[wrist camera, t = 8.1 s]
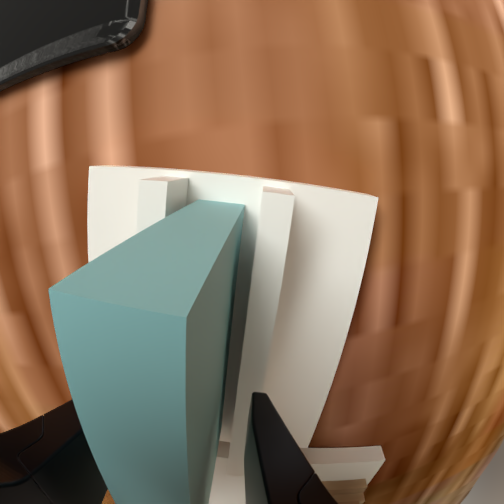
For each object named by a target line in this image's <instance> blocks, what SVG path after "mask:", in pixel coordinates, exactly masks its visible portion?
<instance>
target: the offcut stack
mask: <svg viewBox="0 0 504 504" xmlns="http://www.w3.org/2000/svg"><path fill="white" fill-rule="evenodd" d="M322 483H323V484H324V486H325V487H326V488H327V490H328V491H329V493H330V494H331V495H332V497H333V498H334V499H335V500H336V501H337V502H338V503H339V504H363V503H364V502H365V498H364V494H363V492H364V491H365V490H366V488H367V483H366V479H355V480H340V481H322Z"/></svg>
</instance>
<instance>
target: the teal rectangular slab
mask: <svg viewBox="0 0 504 504" xmlns="http://www.w3.org/2000/svg"><path fill="white" fill-rule="evenodd" d="M244 209H245V205H244V204H236V203H227V202H218V201H209V200H200V199H198V200H197V201H195V202H193V203H191V204H189V205H187V206H185V207H184V208H182V209H180V210H178V211H176V212H174V213H173V214H171V215H169V216H167V217H165V218H164V219H162V220H160V221H158V222H156V223H155V224H153V225H151V226H149V227H148V228H146V229H144V230H142V231H141V232H139V233H137V234H136V235H134V236H132V237H130V238H129V239H127V240H125V241H124V242H122V243H120V244H119V245H117V246H115V247H114V248H112V249H110V250H109V251H107V252H105V253H104V254H102V255H100V256H99V257H97V258H96V259H94V260H92V261H91V262H89V263H88V264H86V265H84V266H83V267H81V268H80V269H78V270H77V271H75V272H73V273H72V274H70V275H69V276H67V277H66V278H64V279H63V280H61V281H60V282H58V283H57V284H55V285H54V286H52V287H51V288H49V289H48V290H49V297H50V303H51V310H52V316H53V321H54V327H55V332H56V337H57V342H58V346H59V351H60V355H61V359H62V363H63V367H64V371H65V375H66V379H67V382H68V386H69V389H70V393H71V396H72V399H73V402H74V406H75V409H76V412H77V415H78V418H79V420H80V423H81V426H82V429H83V432H84V434H85V437H86V440H87V442H88V445H89V447H90V450H91V452H92V455H93V457H94V459H95V462H96V464H97V466H98V468H99V471H100V473H101V475H102V477H103V479H104V481H105V484H106V486H107V488H108V490H109V492H110V494H111V496H112V498H113V499H114V501H115V503H116V504H209V498H210V492H211V486H212V480H213V475H214V469H215V463H216V457H217V451H218V445H219V439H220V433H221V428H222V417H223V407H224V396H225V386H226V376H227V366H228V356H229V346H230V337H231V327H232V317H233V308H234V299H235V289H236V280H237V271H238V262H239V253H240V244H241V235H242V226H243V217H244Z"/></svg>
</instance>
